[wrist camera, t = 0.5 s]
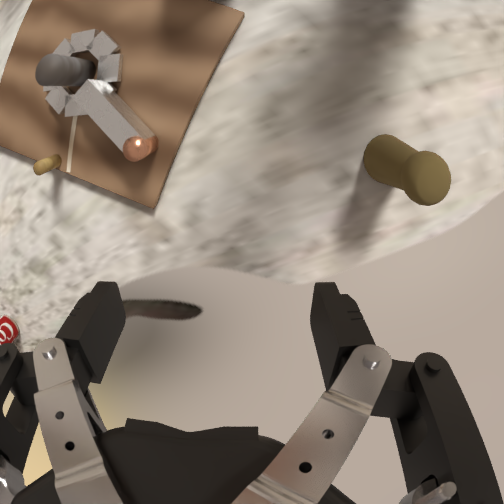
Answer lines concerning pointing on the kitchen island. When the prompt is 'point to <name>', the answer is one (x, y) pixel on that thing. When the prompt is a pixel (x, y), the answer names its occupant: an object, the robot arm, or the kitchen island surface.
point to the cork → (408, 169)
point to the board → (129, 89)
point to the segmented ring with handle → (103, 96)
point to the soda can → (8, 329)
